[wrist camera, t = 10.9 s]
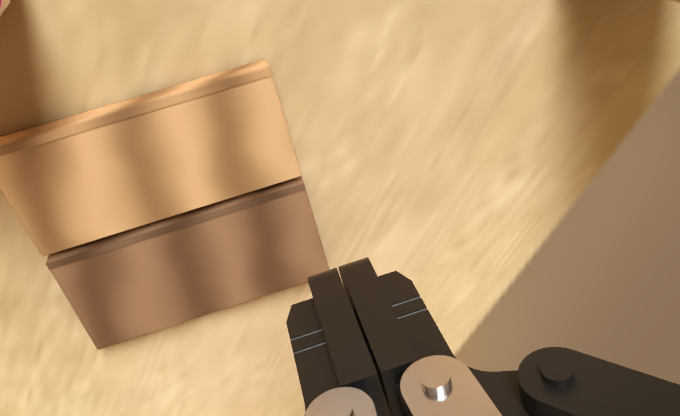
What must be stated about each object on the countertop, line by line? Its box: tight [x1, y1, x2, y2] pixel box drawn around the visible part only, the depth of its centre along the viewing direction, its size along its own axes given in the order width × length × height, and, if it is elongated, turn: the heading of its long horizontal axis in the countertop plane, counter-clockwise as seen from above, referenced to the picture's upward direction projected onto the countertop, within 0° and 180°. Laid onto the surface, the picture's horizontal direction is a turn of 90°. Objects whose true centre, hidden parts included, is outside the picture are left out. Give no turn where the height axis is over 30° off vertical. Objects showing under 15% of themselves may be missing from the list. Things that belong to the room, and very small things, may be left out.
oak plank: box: [0, 59, 301, 256], centre depth 44 cm, size 20×9×2 cm, turn 103°
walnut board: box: [46, 176, 329, 350], centre depth 49 cm, size 20×9×2 cm, turn 103°
